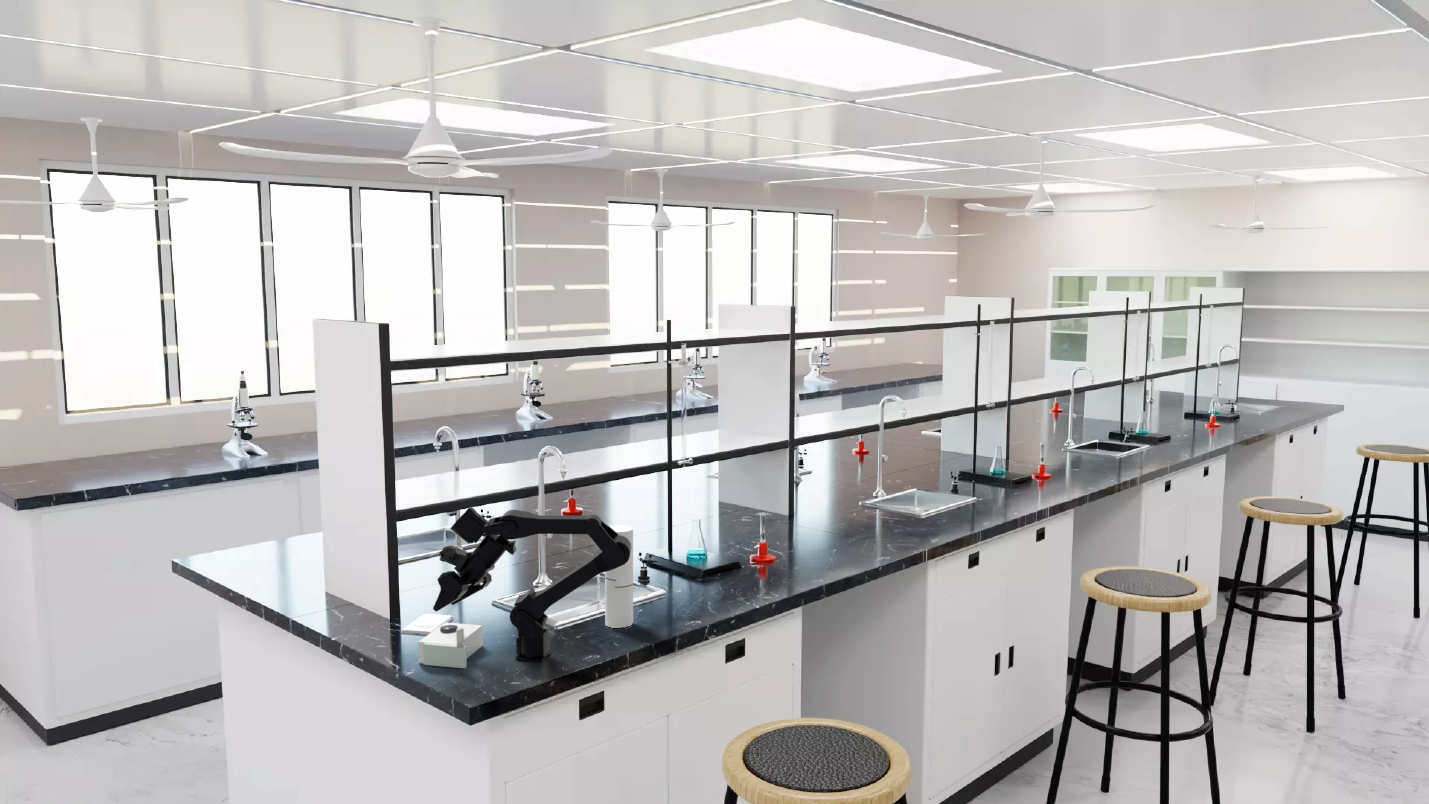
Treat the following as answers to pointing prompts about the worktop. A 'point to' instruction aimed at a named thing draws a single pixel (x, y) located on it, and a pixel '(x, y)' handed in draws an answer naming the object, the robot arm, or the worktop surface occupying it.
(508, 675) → the worktop surface
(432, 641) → the instrument case
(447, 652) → the side door
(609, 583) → the cylindrical container
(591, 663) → the worktop surface
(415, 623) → the external hard drive
